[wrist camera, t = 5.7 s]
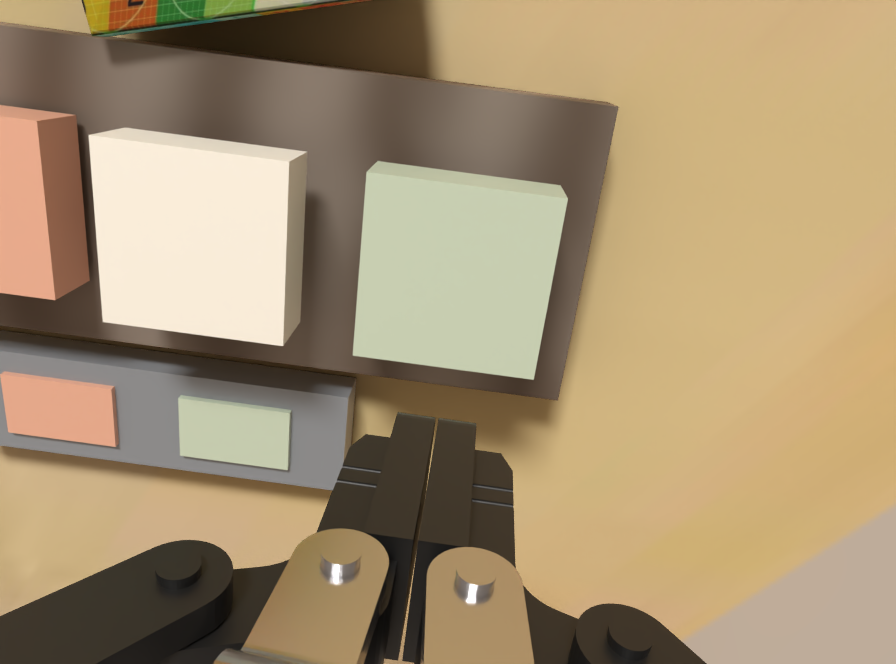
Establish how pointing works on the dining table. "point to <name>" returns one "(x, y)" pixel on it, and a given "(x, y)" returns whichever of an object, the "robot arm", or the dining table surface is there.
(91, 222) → the keypad base
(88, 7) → the puzzle game
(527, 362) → the key sage
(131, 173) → the key cream
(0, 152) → the key terracotta
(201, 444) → the card
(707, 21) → the dining table surface
